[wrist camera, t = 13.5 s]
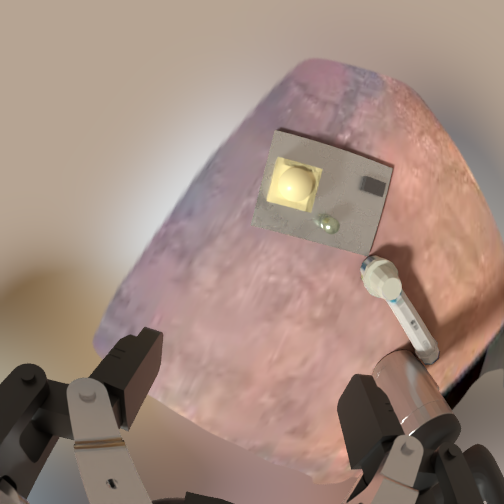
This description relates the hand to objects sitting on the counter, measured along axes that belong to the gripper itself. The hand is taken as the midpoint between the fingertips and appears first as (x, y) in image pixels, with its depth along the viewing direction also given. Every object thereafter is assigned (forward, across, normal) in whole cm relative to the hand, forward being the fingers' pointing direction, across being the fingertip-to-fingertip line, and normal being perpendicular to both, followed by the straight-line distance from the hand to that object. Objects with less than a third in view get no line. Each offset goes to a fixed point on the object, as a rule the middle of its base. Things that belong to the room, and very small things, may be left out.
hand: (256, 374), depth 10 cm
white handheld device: (+29, -26, +6) cm, 39 cm away
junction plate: (+28, -6, -8) cm, 30 cm away
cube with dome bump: (+27, -2, -8) cm, 28 cm away
